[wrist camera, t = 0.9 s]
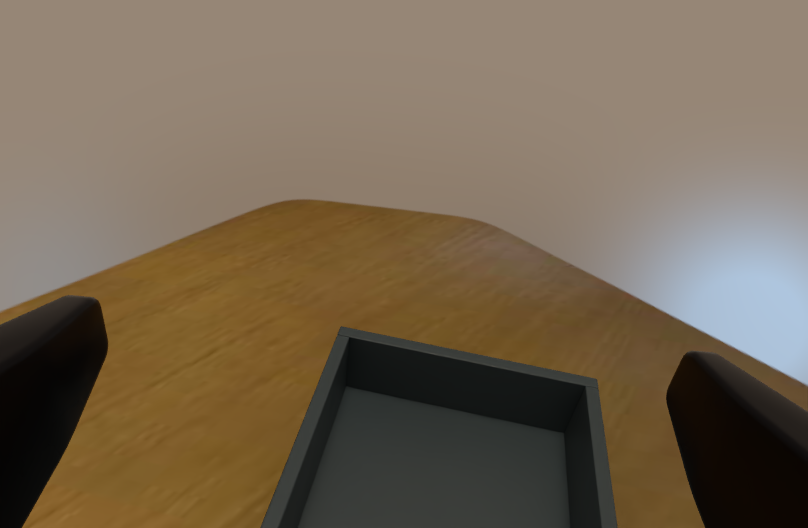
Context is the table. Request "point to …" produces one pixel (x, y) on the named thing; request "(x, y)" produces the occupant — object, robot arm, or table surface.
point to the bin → (444, 443)
